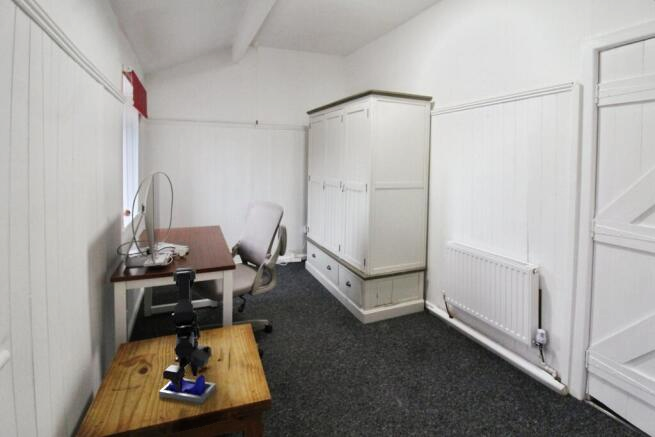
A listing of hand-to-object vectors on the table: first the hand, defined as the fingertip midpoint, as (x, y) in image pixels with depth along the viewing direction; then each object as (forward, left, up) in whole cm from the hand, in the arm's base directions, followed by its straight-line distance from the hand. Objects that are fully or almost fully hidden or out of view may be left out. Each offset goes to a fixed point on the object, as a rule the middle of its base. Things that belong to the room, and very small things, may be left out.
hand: (187, 383), depth 132 cm
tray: (0, 0, -4) cm, 4 cm away
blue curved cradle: (0, 0, -3) cm, 3 cm away
